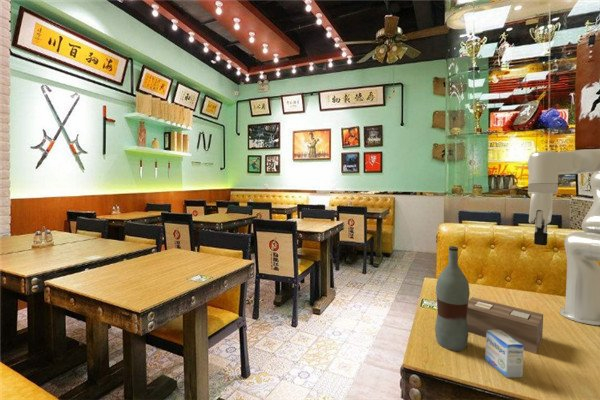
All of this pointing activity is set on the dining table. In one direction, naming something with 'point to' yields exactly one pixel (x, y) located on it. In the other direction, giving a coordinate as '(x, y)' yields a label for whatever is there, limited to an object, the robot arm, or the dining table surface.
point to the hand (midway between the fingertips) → (540, 244)
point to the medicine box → (504, 353)
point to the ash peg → (483, 305)
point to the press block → (506, 323)
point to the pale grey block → (520, 315)
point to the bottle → (452, 305)
